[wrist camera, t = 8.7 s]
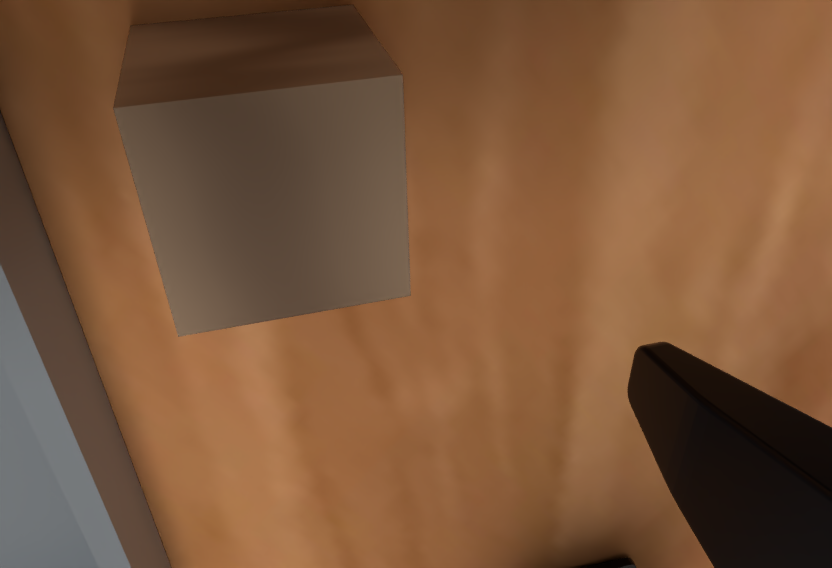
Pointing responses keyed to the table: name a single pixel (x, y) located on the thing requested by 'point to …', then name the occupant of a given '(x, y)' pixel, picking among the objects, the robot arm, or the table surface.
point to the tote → (57, 415)
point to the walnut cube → (267, 163)
